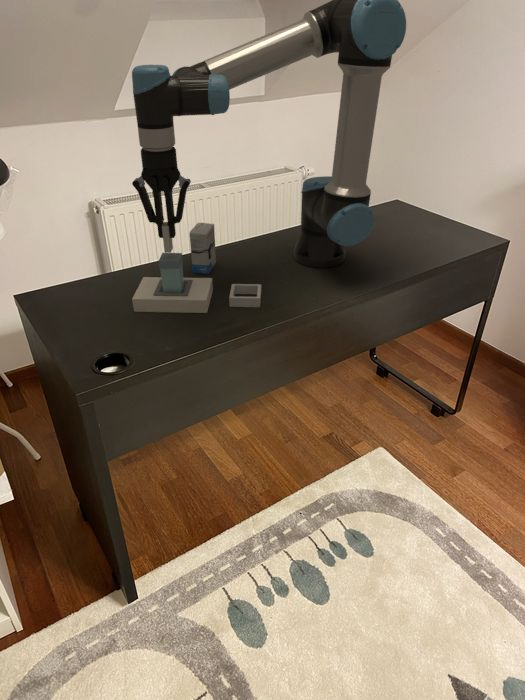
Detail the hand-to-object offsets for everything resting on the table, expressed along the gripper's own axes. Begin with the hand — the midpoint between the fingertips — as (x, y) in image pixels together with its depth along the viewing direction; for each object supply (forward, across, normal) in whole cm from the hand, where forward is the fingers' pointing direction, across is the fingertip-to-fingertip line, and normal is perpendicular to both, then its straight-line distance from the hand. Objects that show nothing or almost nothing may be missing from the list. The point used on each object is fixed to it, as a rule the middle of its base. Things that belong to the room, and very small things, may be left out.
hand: (168, 250), depth 125 cm
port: (+14, 0, 0) cm, 14 cm away
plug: (+14, 0, 0) cm, 14 cm away
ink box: (+14, -5, -20) cm, 25 cm away
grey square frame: (+14, -18, -1) cm, 23 cm away
